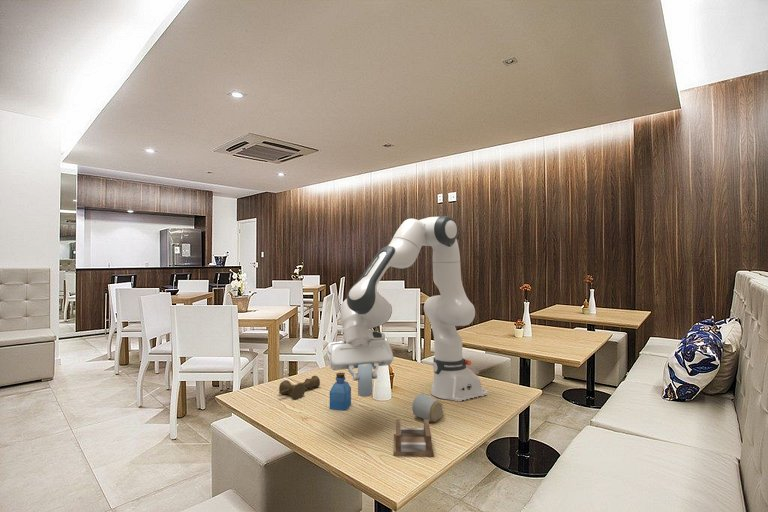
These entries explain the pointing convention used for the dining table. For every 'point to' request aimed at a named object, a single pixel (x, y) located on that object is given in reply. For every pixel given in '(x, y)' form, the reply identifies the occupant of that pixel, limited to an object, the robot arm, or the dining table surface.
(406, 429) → the holder
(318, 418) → the dining table surface
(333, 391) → the perfume bottle
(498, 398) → the dining table surface
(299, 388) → the kendama
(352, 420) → the dining table surface
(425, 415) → the ceramic mug
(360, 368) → the paper roll
